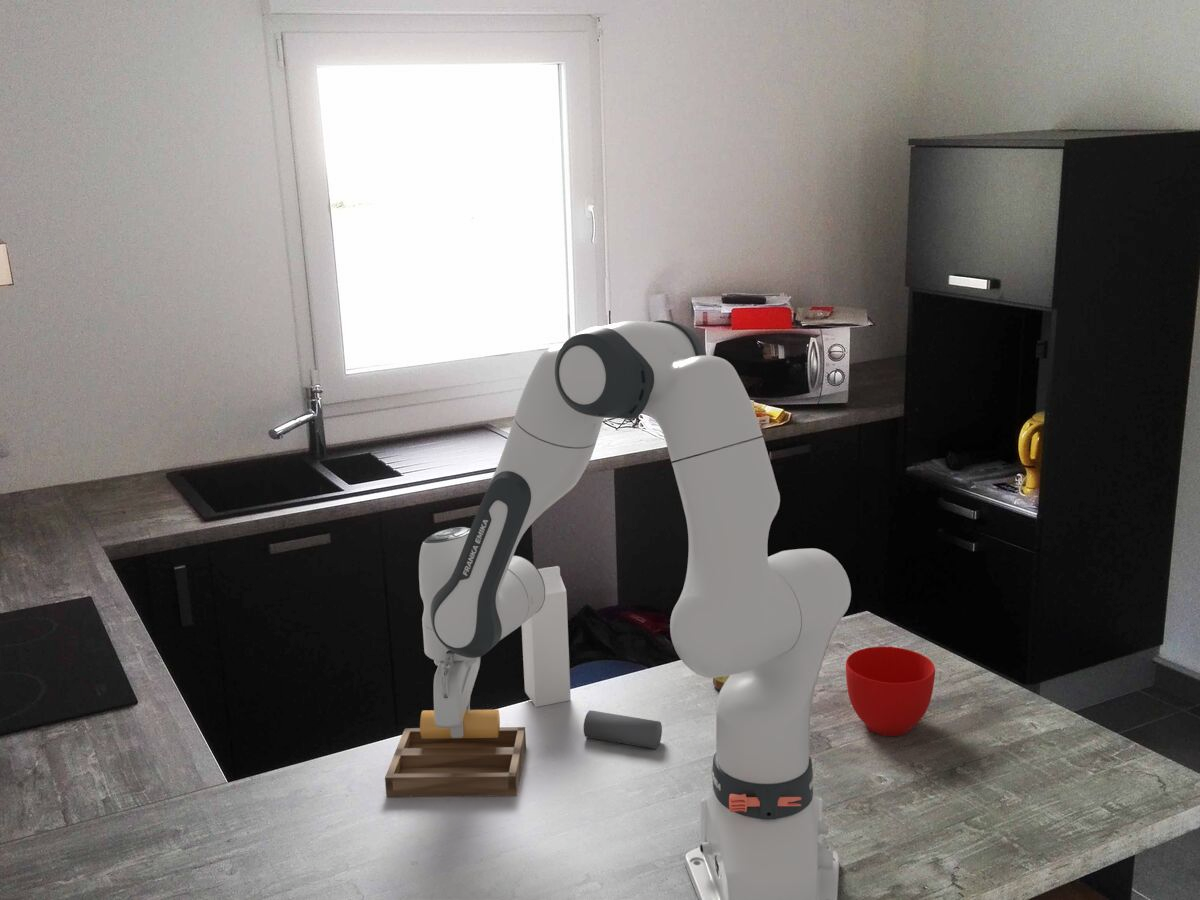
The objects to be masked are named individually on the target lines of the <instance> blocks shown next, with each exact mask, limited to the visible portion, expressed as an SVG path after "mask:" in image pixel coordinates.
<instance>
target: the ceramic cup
mask: <svg viewBox="0 0 1200 900" xmlns="http://www.w3.org/2000/svg"><path fill="white" fill-rule="evenodd" d="M935 676H936V668H935V664H934V663H933V662H932V660H931V659H929V658H928V657H927V656H925V655H923V654H921V653H920V652H917V651H913V650H910V649H907V648H903V647H894V646H891V645H889V646H872V647H866V648H862V649H859V650H855V651H854V652H852V653H851V654H850V655H849V656H848V657H847V659H846V661H845V678H846V679H845V681H846V688H847V694H848V699H849V702H850V705H851V707H852V708H853V710H854V713H855V714H856V715H857V717H858V718H859V719H860V721H861V722H862V723H864V724H865V726H866V728H868V730H870V731H871V732H873V733H876V734H879V735H883V736H891V737H892V736H902V735H905V734H907V733H908V732H910V731H911V729H912V728H914V726H916V725H917V724H918V723H919V722H920V721H921V720H922V718H923V717H924V715H925V714H926V712H927V710H928V708H929V706H930V704H931V703H930V702H931V700H932V695H933V691H934V683H935V678H936V677H935Z"/></svg>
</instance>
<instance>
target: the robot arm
mask: <svg viewBox="0 0 1200 900" xmlns="http://www.w3.org/2000/svg"><path fill="white" fill-rule="evenodd" d="M514 414H515V415H514V417H513V420H512V423H511V424H512V425H511V428H510V430H509V433H508V436H507V439H506V442H505V445H504V448H503V451H502V453H501V456H500V459H499V462H498V463H497V466H496V469H495V471H494V473H493V475H492V478H491V480H490V482H489V485H488V487H487V489H486V491H485V494H484V496H483V497H482V500H481V502H480V504H479V507H478V509H477V511H476V513H475V516H474V519H473V521H472V523H471V527H470V528H469V527H466V526H458V527H450V528H447V529H443V530H439V531H437V532H435V533H433V534H431V535H430V536H428V537H426V539H425V540H424V541H422V544H421V546H420V551H419V558H418V581H419V593H420V597H421V600H422V602H423V611H422V612H423V613H422V618H421V621H422V622H421V623H422V634H423V635H422V636H423V637H422V638H423V648H424V649H423V651H424V654H425V656H427V657H428V658H429V659H431V660H433V662H434V664H435V666H437V669H436V671H435V673H434V676H433V677H434V678H433V710H434V719H435V724H436V726H437V727H438V728H450V731H451V737H453V738H462V737H463V734H464V731H465V729H464V722H463V718H464V715H465V712H466V710H471V706H470V705H471V695H472V692H473V688H474V686H475V682H476V679H477V676H478V672H479V670H480V665H481V657H482V656H485V655H486V654H487V653H488V652H489V651H491V650H492V649H493V648H494V647H495V646H496V645H497V644H498V643H499V642H500V641H501V640H503V639H504V638H505V637H507V636H508V635H510V634H511V633H513V632H514V631H515V630H517V629H518V628H519V627H522V624H523V623H525V622H526V621H527V620H529V619H530V618H531V617H533V616H534V615H535V614H536V613H537V612H538V611H539V610H540V609H541V608H542V606H543V603H544V600H545V585H544V581H543V578H542V576H541V574H540V572H539V571H538V569H539V568H537V567H536V565H535V564H533V562H532V561H530V560H529V559H527V558H526V557H523V556H521V555H517V554H515V552H516V550H517V547H518V545H519V543H520V541H521V540H522V538H523V535H524V534H525V533H526V532H527V530H528V528H530V526H531V525H532V524H533V523H534V522H535V521H536V520H537V519H538V518H539V517H541V515H542V514H543V513H544V512H546V511H547V510H548V509H549V508H550V507H552V505H554V504H555V503H557V501H559V500H560V499H561V498H562V497H564V496H565V495H566V494H568V493H569V492H570V491H572V489H573V488H575V486H577V484H578V482H579V480H580V479H581V478H582V476H583V474H584V472H585V471H586V469H587V467H588V464H589V463H590V461H591V459H592V456H593V453H594V451H595V450H594V449H595V447H596V444H597V441H598V439H599V435H600V432H601V428H602V426H603V422H604V419H626V420H634V419H637V418H638V417H639V416H640V415H641V414H644V415H646V416H649V417H650V418H651V419H653V420H654V421H655V422H656V423H657V425H658V426H659V427H660V429H661V431H662V434H663V437H664V440H665V443H666V447H667V450H668V455H669V459H670V462H671V466H672V468H673V472H674V476H675V481H676V485H677V487H678V491H679V496H680V499H681V502H682V508H683V511H684V515H685V520H686V525H687V526H686V527H687V534H688V535H687V536H688V537H687V538H688V554H687V555H688V557H687V565H686V566H687V568H686V574H685V578H684V584H683V589H682V591H681V593H680V596H679V598H678V600H677V602H676V604H675V605H674V607H673V610H672V612H671V616H670V619H669V622H670V624H669V628H670V630H669V631H670V632H669V633H670V638H671V642H672V645H673V647H674V650H675V653H676V654H677V655H678V657H679V659H680V660H681V661H682V662H683V664H684V665H685V666H686V667H687V668H689V669H690V670H691V671H692V672H694V673H695V674H696V675H698V676H701V677H703V678H707V679H713V678H716V677H723V676H729V678H728V679H727V681H726V682H725V683H724V685H723V687H722V689H721V691H720V690H719V693H718V695H717V698H716V699H717V700H716V706H715V715H716V716H715V719H716V720H715V722H716V723H715V730H716V732H715V733H716V734H715V735H716V737H715V738H716V739H715V741H716V742H715V743H716V744H715V753H714V754H713V757H712V765H711V778H712V789H711V790H710V791H709V793H708V794H707V795H705V797H703V799H701V800H700V817H699V819H700V820H699V822H700V824H699V846H698V847H695V848H693V849H691V850H689V851H688V852H687V853H686V854H685V856H684V857H685V859H684V865H685V868H686V870H687V873H688V876H689V878H690V880H691V883H692V885H693V889H694V891H695V893H696V896H697V899H698V900H838V894H839V892H838V891H839V877H840V876H839V875H840V858H839V854H838V853H837V852H836V851H835V850H833V849H830V848H829V846H828V844H826V843H825V844H824V843H822V835H828V832H829V822H826V821H823V799H822V798H821V797H820V796H818V795H817V794H815V792H814V780H815V778H814V769H813V761H812V759H811V757H810V736H811V735H810V734H811V715H812V714H811V712H812V705H813V698H814V693H815V689H816V686H817V682H818V679H819V674H820V671H821V668H822V666H823V662H824V659H825V655H826V653H827V649H828V646H829V645H830V642H831V638H832V637H833V634H834V632H835V630H836V628H837V626H838V625H839V623H840V621H841V620H842V618H843V617H844V615H845V614H846V612H847V611H848V609H849V607H850V603H851V598H852V589H851V583H850V579H849V577H848V574H847V572H846V570H845V569H844V567H843V565H842V564H841V563H840V562H839V560H838V559H837V558H836V557H835V556H833V555H832V554H831V553H829V552H827V551H825V550H822V549H819V548H816V547H815V548H814V547H813V548H811V547H810V548H797V549H787V550H781V551H779V552H776V553H774V554H771V555H770V556H768V555H769V554H768V540H769V534H770V533H769V532H770V529H771V525H772V522H773V520H774V519H775V517H776V516H777V514H778V510H779V509H780V503H781V495H780V491H779V489H778V485H777V481H776V478H775V474H774V470H773V466H772V464H771V459H770V456H769V454H768V450H767V447H766V442H765V440H764V437H763V435H764V434H763V432H762V429H761V426H760V423H759V420H758V417H757V414H756V411H755V409H754V406H753V404H752V402H751V398H750V396H749V394H748V392H747V390H746V387H745V386H744V383H743V382H742V379H741V378H740V376H739V374H738V372H737V370H736V369H735V367H734V365H733V364H731V362H729V361H728V360H727V359H724V358H722V357H719V356H715V355H709V354H708V355H707V351H706V348H705V345H704V344H703V341H702V339H701V338H700V337H699V336H698V334H697V333H696V331H693V330H692V329H691V328H689V327H688V326H687V325H684V324H681V323H679V322H676V321H671V320H667V319H666V320H654V321H637V320H626V321H620V322H619V321H618V322H615V323H611V324H606V325H602V326H600V325H599V326H598V325H597V326H596V325H595V326H592V327H587V328H586V329H583V330H582V331H579V332H577V333H575V334H574V335H573V336H571V337H570V338H568V339H567V340H566V341H565V342H564V343H562V344H557V345H553V346H551V347H549V348H547V349H546V350H545V351H543V353H542V354H541V355H540V357H539V358H538V359H537V362H536V364H535V365H534V367H533V369H532V371H531V373H530V375H529V378H528V379H527V381H526V384H525V386H524V389H523V391H522V393H521V396H520V399H519V402H518V405H517V408H516V411H515V413H514ZM674 461H675V462H674Z"/></svg>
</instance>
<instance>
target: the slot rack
mask: <svg viewBox="0 0 1200 900" xmlns="http://www.w3.org/2000/svg"><path fill="white" fill-rule="evenodd" d="M526 737H527V735H526V727H525V726H519V727H518V726H510V727H509V726H505V727H503V726H502V727H501V726H500V731H499V737H498V738H441V739H422V738H421V733H420V727H414V728H413V727H411V728H410V727H409V728H407V727H405V728H404V730H403V732H402V735H401V737H400V740H399V742H398V744H397V747H396V749H395V752H394V754H393V757H392V759H391V762H390V763H389V766H388V769H387V772H386V773H385V777H384V782H385V784H384V785H385V794H386V798H425V797H426V798H432V797H433V798H434V797H435V798H438V797H439V798H440V797H442V798H443V797H448V798H449V797H516V796H517V795H518V794H517V793H518V790H519V784H520V779H521V778H520V777H521V773H522V767H523V763H524V759H525V752H526V747H527V746H526V745H527V742H526V741H527V739H526Z"/></svg>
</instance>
